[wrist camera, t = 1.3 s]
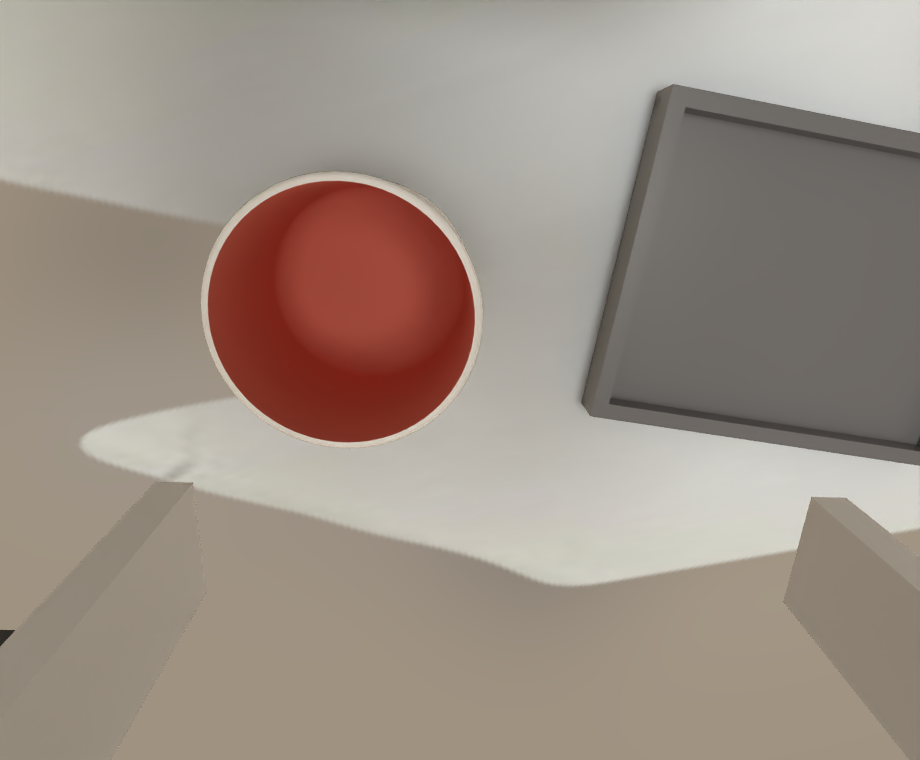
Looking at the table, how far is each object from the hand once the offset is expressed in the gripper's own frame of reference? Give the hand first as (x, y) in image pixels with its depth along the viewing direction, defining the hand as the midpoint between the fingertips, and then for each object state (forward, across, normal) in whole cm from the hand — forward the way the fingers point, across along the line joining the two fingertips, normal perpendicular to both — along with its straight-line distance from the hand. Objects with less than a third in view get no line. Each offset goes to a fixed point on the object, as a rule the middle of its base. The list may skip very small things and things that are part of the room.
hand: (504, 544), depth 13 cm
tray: (+20, +18, +2) cm, 27 cm away
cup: (+20, -5, +2) cm, 21 cm away
